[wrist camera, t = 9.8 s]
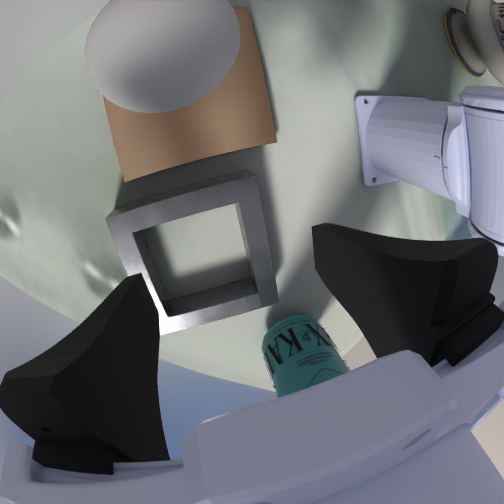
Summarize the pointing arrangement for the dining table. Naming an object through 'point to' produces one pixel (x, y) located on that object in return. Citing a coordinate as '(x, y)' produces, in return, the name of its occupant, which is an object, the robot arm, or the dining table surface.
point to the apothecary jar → (478, 37)
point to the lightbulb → (161, 51)
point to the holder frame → (185, 204)
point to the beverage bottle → (300, 355)
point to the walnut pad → (199, 118)
